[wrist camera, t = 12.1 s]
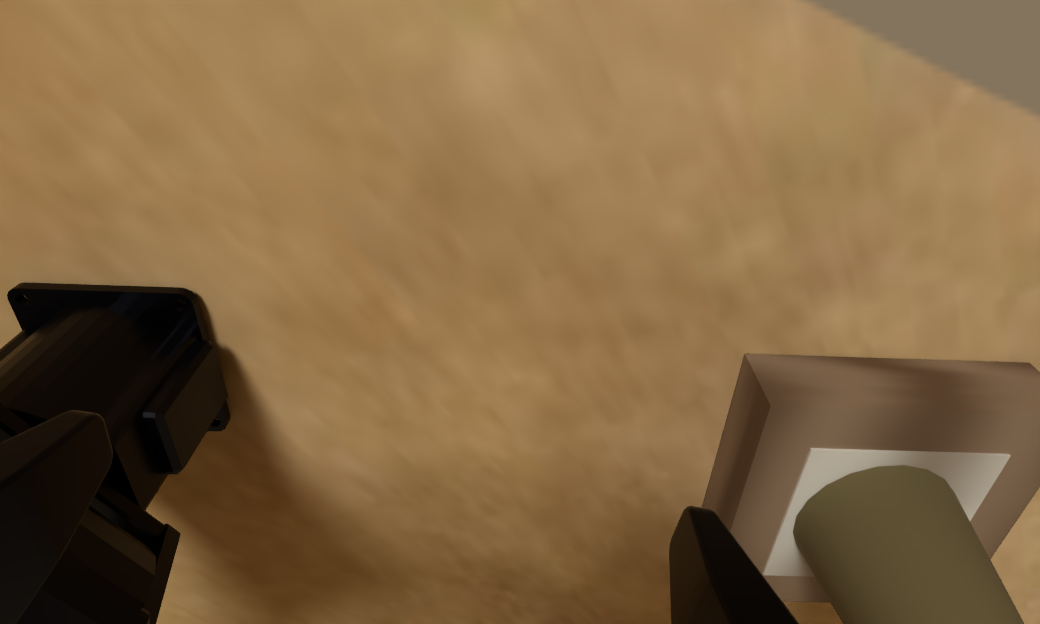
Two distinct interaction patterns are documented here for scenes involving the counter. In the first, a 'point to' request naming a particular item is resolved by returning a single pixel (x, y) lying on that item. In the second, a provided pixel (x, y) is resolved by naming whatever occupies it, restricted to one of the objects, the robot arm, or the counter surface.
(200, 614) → the counter surface
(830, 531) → the olive green peg figure
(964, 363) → the walnut plinth
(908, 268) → the counter surface
